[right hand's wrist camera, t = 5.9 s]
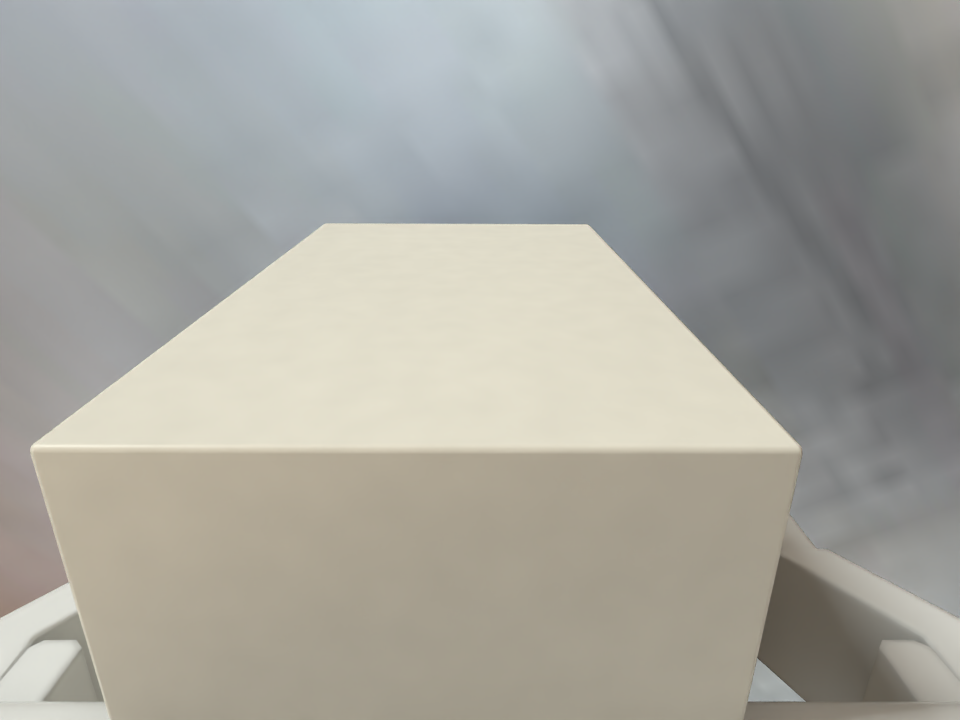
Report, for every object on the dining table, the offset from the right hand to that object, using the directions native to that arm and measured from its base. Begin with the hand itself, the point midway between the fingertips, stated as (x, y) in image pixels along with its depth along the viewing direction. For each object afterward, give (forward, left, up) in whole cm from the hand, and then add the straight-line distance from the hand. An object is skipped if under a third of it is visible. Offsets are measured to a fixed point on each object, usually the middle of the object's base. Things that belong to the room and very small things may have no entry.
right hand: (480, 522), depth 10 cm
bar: (+7, +6, -3) cm, 10 cm away
